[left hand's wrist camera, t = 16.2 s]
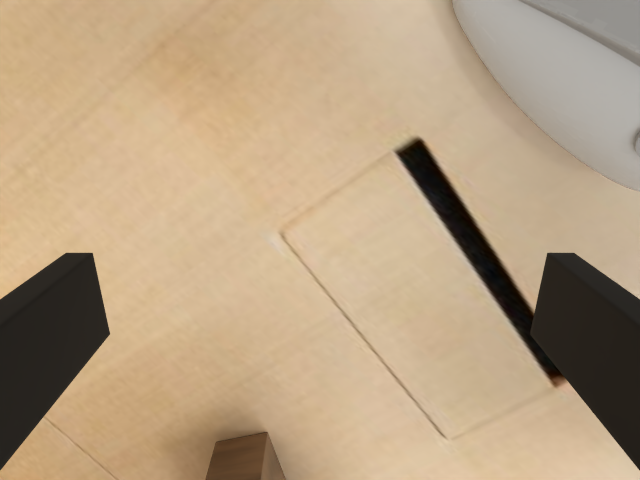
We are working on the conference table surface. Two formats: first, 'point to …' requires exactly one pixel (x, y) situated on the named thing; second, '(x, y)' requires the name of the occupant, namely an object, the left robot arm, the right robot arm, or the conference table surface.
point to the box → (245, 460)
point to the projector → (568, 72)
